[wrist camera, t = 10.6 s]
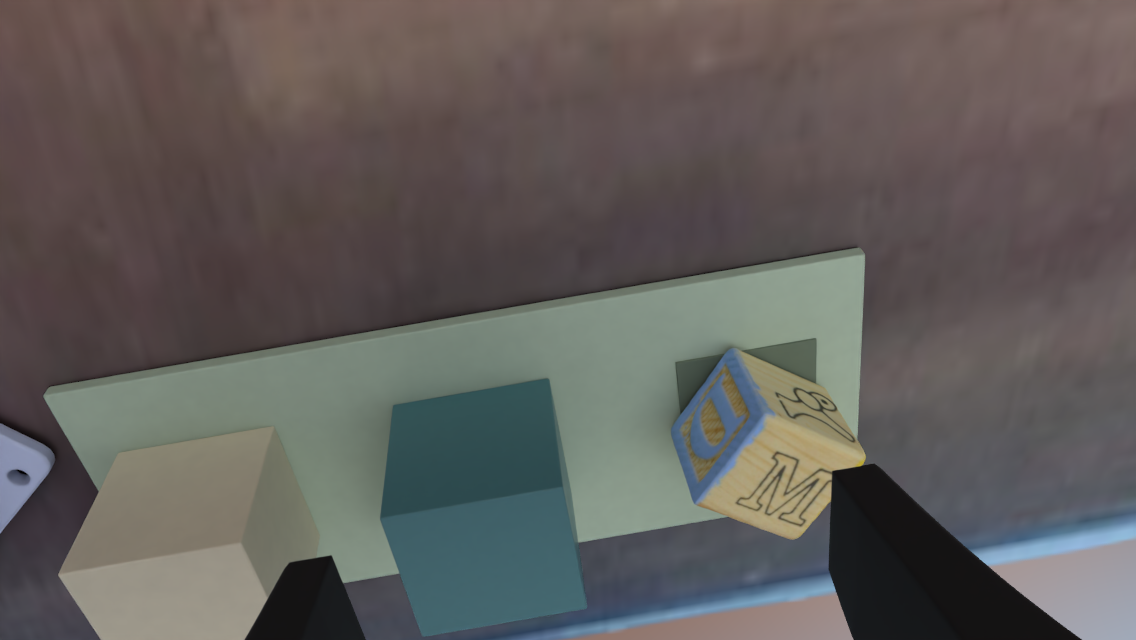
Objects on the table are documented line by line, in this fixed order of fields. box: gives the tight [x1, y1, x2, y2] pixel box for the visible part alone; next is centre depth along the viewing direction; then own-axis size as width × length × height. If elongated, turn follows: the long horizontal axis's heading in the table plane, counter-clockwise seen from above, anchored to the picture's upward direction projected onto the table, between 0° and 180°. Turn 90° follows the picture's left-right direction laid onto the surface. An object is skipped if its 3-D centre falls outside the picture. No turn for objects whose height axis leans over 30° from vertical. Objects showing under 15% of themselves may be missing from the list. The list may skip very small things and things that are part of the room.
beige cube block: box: [58, 426, 320, 640], centre depth 22 cm, size 4×4×4 cm
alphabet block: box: [671, 348, 866, 539], centre depth 22 cm, size 3×3×3 cm
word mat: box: [43, 248, 865, 583], centre depth 24 cm, size 20×8×1 cm, turn 98°
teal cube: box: [380, 378, 587, 637], centre depth 22 cm, size 4×4×4 cm
